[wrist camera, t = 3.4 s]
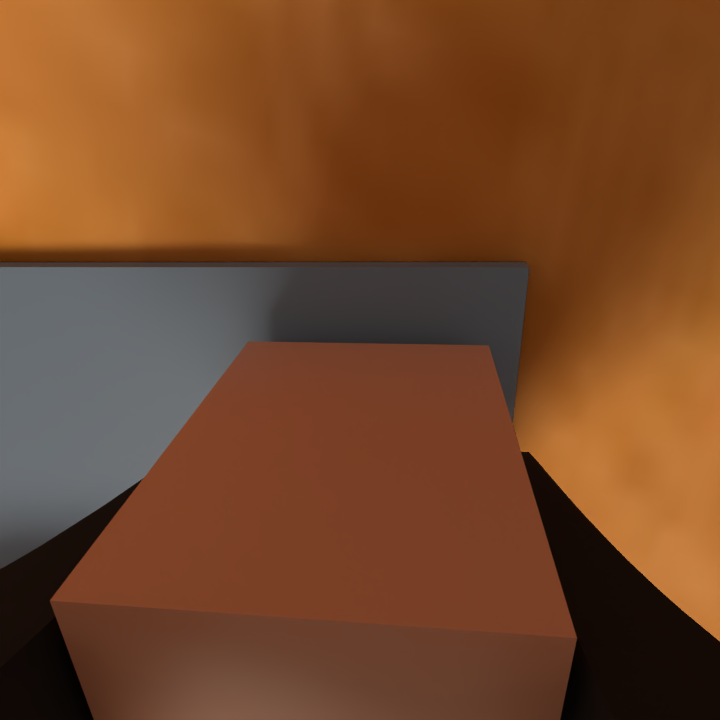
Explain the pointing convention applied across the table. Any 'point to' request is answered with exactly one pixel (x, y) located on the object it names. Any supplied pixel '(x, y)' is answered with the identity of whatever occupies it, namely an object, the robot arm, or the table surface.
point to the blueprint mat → (192, 356)
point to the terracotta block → (328, 552)
